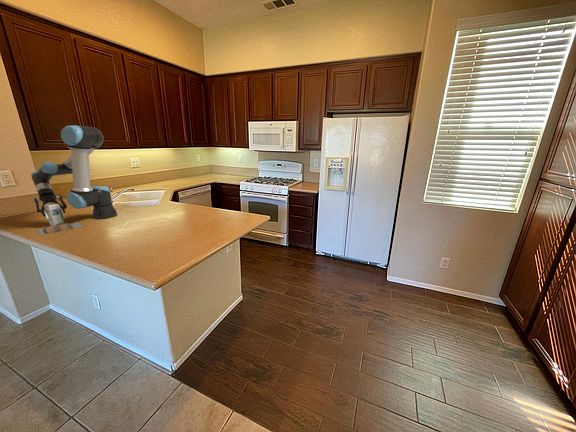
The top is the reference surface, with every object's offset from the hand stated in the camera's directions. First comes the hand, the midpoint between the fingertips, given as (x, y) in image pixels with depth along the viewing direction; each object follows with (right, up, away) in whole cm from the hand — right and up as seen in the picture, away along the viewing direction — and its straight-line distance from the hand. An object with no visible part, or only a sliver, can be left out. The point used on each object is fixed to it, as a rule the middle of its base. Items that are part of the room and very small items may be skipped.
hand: (56, 218), depth 157 cm
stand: (+6, -7, -4) cm, 10 cm away
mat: (+5, -7, -3) cm, 9 cm away
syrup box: (-3, -5, +4) cm, 7 cm away
